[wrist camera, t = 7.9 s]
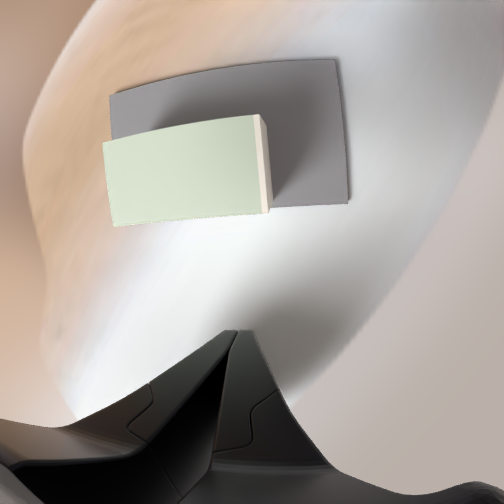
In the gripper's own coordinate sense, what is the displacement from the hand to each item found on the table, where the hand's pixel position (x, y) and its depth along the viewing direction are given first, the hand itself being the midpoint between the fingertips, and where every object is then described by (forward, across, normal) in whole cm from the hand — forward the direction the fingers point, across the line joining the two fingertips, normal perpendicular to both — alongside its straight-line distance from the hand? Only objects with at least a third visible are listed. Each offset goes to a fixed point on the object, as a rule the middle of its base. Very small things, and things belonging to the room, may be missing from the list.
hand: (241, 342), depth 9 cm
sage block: (+10, 0, -5) cm, 11 cm away
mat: (+13, +3, -7) cm, 15 cm away
